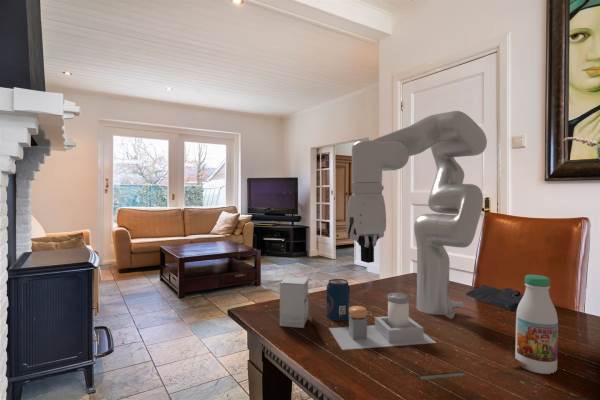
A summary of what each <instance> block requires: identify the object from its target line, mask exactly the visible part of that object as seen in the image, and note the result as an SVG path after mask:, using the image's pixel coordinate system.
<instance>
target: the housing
mask: <svg viewBox="0 0 600 400" xmlns="http://www.w3.org/2000/svg"><path fill="white" fill-rule="evenodd" d="M328 330H329V331H330V333H331V335H332V336H333V338H334V339H335V341H336V343H337V344H338V346H339V347H340V349H341V350H342V351H347V350H357V349H358V350H359V349H370V348H386V347H387V348H388V347H398V346H412V345H425V344H426V345H427V344H436V343H437V342H436V341H435V340H434V339H433V338H431V337H430V336H429V335H428V334H426V333H425V331H424V327H423V326H421V325H420V324H419V323H418V322H417V321H414V319H412V318H411V317H410V316H409V327H404V328H391V327H389V326H388V315H386V316H375V317H374V325H372V324H371V325H368V319H367V318H366V317H364V318H361V319H355V318H354V317H351V316H350V315H349V319H348V326H343V327H329V328H328Z"/></svg>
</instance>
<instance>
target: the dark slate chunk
mask: <svg viewBox="0 0 600 400" xmlns="http://www.w3.org/2000/svg"><path fill="white" fill-rule="evenodd" d="M465 295H466V296H468V297H471V298H473V299H475V300H478V301H481V302H484V303H486V304H489V305H491V306H495V307H498V308H499V309H502V310H505V311H508V312H516V313H517V308H518V305H519V303H520V301H521V299H522V297H523V296H524V293H522V294H521V292H520V291H519V290H514V289H512V288H511V287H505V288H503V289H500V288H496V287H492V286H490V285H486V284H483V285H480V286H478V287H476V288H474V289H472V290H469V291H468V292H466V293H465Z"/></svg>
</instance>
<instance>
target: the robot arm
mask: <svg viewBox="0 0 600 400" xmlns="http://www.w3.org/2000/svg"><path fill="white" fill-rule="evenodd" d="M487 143H488V140H487V136H486V133H485V131H484V130H483V129H482V128H481V127H480V126H479V124H477V123H476V122H475V121H474V119H472V118H471V117H470V116H469V115H468V114H466V113H465V112H463V111H460V110H453V111H452V110H451V111H448V112H441V113H436V114H432V115H428V116H426V117H424V118H422V119H420V120H418V121H416V122H414V123H413V124H411V125H409V126H406V127H404V128H400V129H397V130H395V131H394V132H391V133H388V134H385V135H382V136H379V137H377V138H374V139H373V140H369V139H366V140H359V141H356V142H354V143H352V146H351V195H349V197H348V200H347V201H348V202H347V209H346V218H345V219H346V221H345V229H346V230H345V231H346V233H347V234H349V237H348V238H349V240H350V241H355V242H357V243H358V246H359V247H360V261H361V262H364V263H367V264H369V263H374V262H375V247H376V245H377V242H378V240H379V239H381V238H384V237H385V232H386V229H387V212H386V204H385V197H384V195H383V190H384V185H383V172H384V171H385V172H386V171H397V170H401V169H402V168H404V167H405V166H406V165H407V164H408V161H409V158H410V157H412V156H415V155H419V154H421V153H424V152H425V151H426V150H428V149H430V150H431V154H432V156H433V160H434V162H435V166H436V174H435V178H434V181H433V184H432V187H431V189H430V193H429V195H428V196H429V197H428V201H427V203H428V208H429V209H430V210H431V211H433V213H424V214H421V215H419V216H418V217H417V218H416V219H415V221H414V225H413V229H414V230H413V233H414V237H415V243H416V304H415V305H414V307H416V310H417V311H419V312H421V313H423V314H426V315H427V314H428V315H433V316H434V315H436V316H439V315H440V316H443V315H444V316H445V317H447V318H448V319H450V320H452V319H454V318H455V312H454V311H453V310H455V309H463V308H464V305H465V304H464V302H462V301H455V300H453V299H452V300H450V266H451V265H450V264H451V262H450V257H449V254H448V252H447V249H446V248H445V247H451V248H452V247H453V248H460V249H461V248H467V247H469V246H471V244H472V243H473V240H474V239H475V236H476V232H477V228H478V225H479V221H480V218H481V215H482V210H483V205H484V194H483V192H482V189H481V188H480V187H479V186H478V185H476V184H473V183H464V178H465V172H464V169H463V168H462V166H461V165H460V164H459V162H458V161H457V160H456V159H455V158H461V157H462V158H463V157H473V156H475V157H476V156H479V155H481V154H483V152H485V150H486V148H487ZM444 246H445V247H444Z"/></svg>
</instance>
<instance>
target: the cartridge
mask: <svg viewBox="0 0 600 400" xmlns="http://www.w3.org/2000/svg"><path fill="white" fill-rule="evenodd" d="M409 304H410V296H409V294H406V293H402V292H390V293H388V294H387V316H388V326H389V327H391V328H404V327H409V317H410V316H409V314H410V307H409V306H410V305H409Z"/></svg>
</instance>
